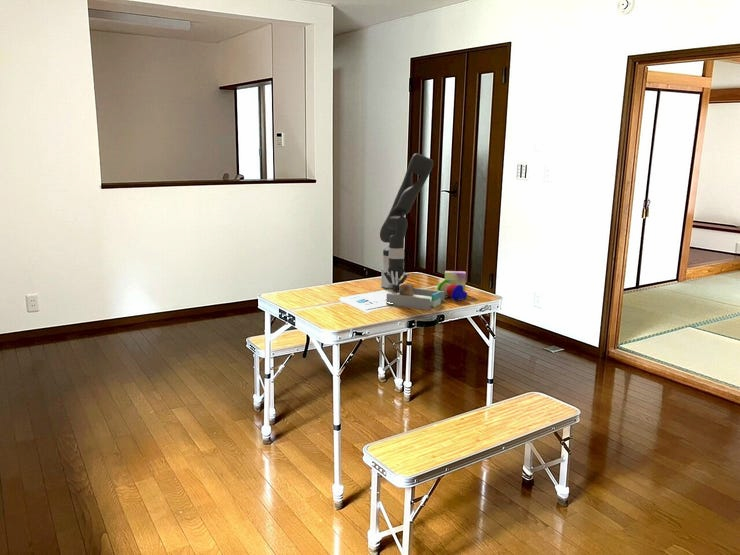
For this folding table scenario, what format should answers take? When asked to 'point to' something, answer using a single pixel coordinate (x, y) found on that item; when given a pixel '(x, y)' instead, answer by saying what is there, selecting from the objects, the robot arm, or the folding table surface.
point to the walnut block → (407, 290)
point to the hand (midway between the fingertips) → (396, 292)
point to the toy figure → (452, 291)
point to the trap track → (418, 299)
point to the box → (456, 278)
